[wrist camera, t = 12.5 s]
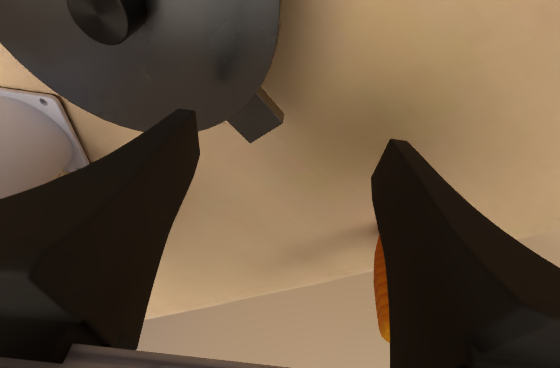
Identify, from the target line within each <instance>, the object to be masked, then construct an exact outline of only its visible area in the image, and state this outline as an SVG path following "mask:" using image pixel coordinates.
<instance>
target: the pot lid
mask: <svg viewBox="0 0 560 368" xmlns="http://www.w3.org/2000/svg"><path fill="white" fill-rule="evenodd" d="M281 2H282V0H0V43H1V44H2V45H3V46H4V47H5V48H6V49H7V50H8V51H9V52H10V53H11V54H12V55H13V56H14V57H15V58H16V59H17V60H18V61H19V62H20V63H21V64H22V65H23V66H24V67H25V68H27V69H28V70H29V71H30V72H31V73H32V74H33V75H34V76H35V77H37V78H38V79H39V80H41V81H42V82H43V83H44V84H46V85H47V86H48V87H49V88H51V89H52V90H53V91H55V92H56V93H58V94H59V95H61V96H62V97H64V98H65V99H67V100H68V101H70V102H71V103H73V104H75V105H77V106H78V107H80V108H82V109H84V110H85V111H87V112H89V113H91V114H93V115H95V116H97V117H100V118H102V119H104V120H106V121H109V122H112V123H114V124H117V125H119V126H123V127H126V128H130V129H133V130H137V131H142V132H145V131H147V130H148V129H150V128H151V127H153V126H154V125H155V124H157V123H158V122H160V121H161V120H162V119H164V118H165V117H167V116H168V115H169V114H171V113H172V112H174V111H175V110H177V109H178V108H180V109H187V110H194V111H196V120H197V130H198V131H201V130H205V129H208V128H211V127H213V126H216V125H218V124H220V123H222V122H224V121H225V120H227V119H229V118H230V117H232V116H234V115H235V114H236V113H237V112H238V111H240V110H241V109H242V108H243V107H244V106H245V105H246V104H247V103H248V102H249V101H250V100H251V98H252V97H253V96H254V95H255V93H256V92H257V90H258V89H259V87H260V86H261V84H262V83H263V81H264V79H265V77H266V75H267V72H268V70H269V68H270V66H271V63H272V59H273V56H274V53H275V50H276V46H277V40H278V35H279V29H280V22H281Z"/></svg>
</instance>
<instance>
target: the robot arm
mask: <svg viewBox="0 0 560 368" xmlns="http://www.w3.org/2000/svg"><path fill="white" fill-rule="evenodd" d="M44 100H45V101H44ZM199 156H200V149H199V139H198V130H197V120H196V111H194V110H187V109H180V108H178V109H177V110H175V111H174V112H172V113H171V114H169V115H168V116H167V117H165V118H164V119H162V120H161V121H160V122H158V123H157V124H155V125H154V126H153V127H151V128H150V129H148V130H147V131H145V132H144V133H142V134H141V135H139V136H138V137H136V138H135V139H133V140H132V141H130V142H128V143H127V144H125V145H123V146H122V147H120V148H119V149H117V150H115V151H114V152H112V153H110V154H108V155H106V156H105V157H103V158H101V159H99V160H97V161H95V162H93V163H91V164H90V163H89V161H88V159H87V157H86V155H85V153H84V150H83V148H82V146H81V144H80V142H79V140H78V138H77V136H76V134H75V132H74V130H73V128H72V126H71V123H70V121H69V119H68V117H67V115H66V113H65V111H64V109H63V107H62V105H61V103H60V101H59V99H58V98H56V97H55V96H53V95H49V94H42V93H35V92H28V91H21V90H14V89H7V88H0V368H288V367H278V366H270V365H261V364H252V363H242V362H234V361H225V360H216V359H207V358H198V357H190V356H181V355H172V354H163V353H154V352H145V351H136V349H137V346H138V342H139V338H140V334H141V330H142V326H143V322H144V318H145V314H146V310H147V306H148V302H149V298H150V295H151V291H152V287H153V284H154V280H155V277H156V273H157V270H158V267H159V263H160V260H161V256H162V253H163V250H164V247H165V244H166V241H167V238H168V235H169V232H170V229H171V227H172V224H173V222H174V220H175V217H176V215H177V213H178V211H179V208H180V206H181V204H182V202H183V200H184V197H185V195H186V193H187V191H188V188H189V186H190V184H191V181H192V179H193V177H194V174H195V170H196V167H197V163H198V160H199ZM62 171H66V172H71V173H69V174H67V175H64V176H62V177H59V178H57V179H55V178H56V177H57V176H58V175H59V174H60V173H61V172H62ZM371 187H372V201H373V206H374V211H375V216H376V220H377V225H378V230H379V234H380V239H381V243H382V248H383V253H384V259H385V268H386V278H387V290H388V304H389V325H390V368H560V268H559V267H557V266H556V265H554V264H552V263H551V262H549V261H547V260H546V259H544V258H542V257H541V256H539V255H538V254H536V253H535V252H533V251H532V250H530V249H529V248H527V247H525V246H524V245H523V244H521V243H520V242H518V241H517V240H516V239H514V238H513V237H511V236H510V235H508V234H507V233H506V232H504V231H503V230H502V229H500V228H499V227H498V226H496V225H495V224H494V223H492V222H491V221H490V220H489V219H487V218H486V217H485V216H484V215H482V214H481V213H480V212H479V211H478V210H476V209H475V208H474V207H473V206H472V205H471V204H469V203H468V202H467V201H466V200H465V199H464V198H463V197H462V196H461V195H460V194H459V193H457V192H456V191H455V190H454V189H453V188H452V187H451V186H450V185H449V184H448V183H447V182H446V181H445V180H444V179H443V178H442V177H441V176H440V175H439V174H438V173H437V172H436V171H435V170H434V169H433V168H432V166H431V165H430V164H429V163H428V162H427V161H426V160H425V159H424V158H423V157H422V156H421V155H420V154H419V153H418V152H417V151H416V150H415V149H414V148H413V147H412V146H411V145H410V144H409V143H408V142H407V141H403V140H396V139H390V140H389V142H388V144H387V146H386V148H385V150H384V152H383V154H382V157H381V159H380V161H379V163H378V165H377V167H376V169H375V171H374V173H373V175H372V177H371Z"/></svg>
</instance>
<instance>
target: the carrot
mask: <svg viewBox="0 0 560 368" xmlns="http://www.w3.org/2000/svg"><path fill="white" fill-rule="evenodd" d="M374 291H375V301H376V310H377V318H378V325H379V330H380V333H381V335H382V337H383V338H384V339H385V340H386V341H387V342H389V343H390V325H389V304H388V290H387V278H386V268H385V259H384V253H383V248H382V243H381V239H380V235H379V238H378V242H377V246H376V251H375V259H374Z"/></svg>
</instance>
